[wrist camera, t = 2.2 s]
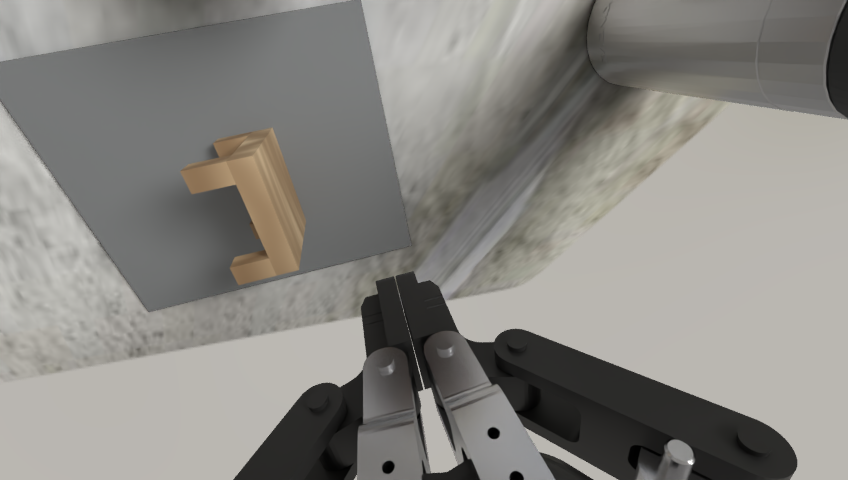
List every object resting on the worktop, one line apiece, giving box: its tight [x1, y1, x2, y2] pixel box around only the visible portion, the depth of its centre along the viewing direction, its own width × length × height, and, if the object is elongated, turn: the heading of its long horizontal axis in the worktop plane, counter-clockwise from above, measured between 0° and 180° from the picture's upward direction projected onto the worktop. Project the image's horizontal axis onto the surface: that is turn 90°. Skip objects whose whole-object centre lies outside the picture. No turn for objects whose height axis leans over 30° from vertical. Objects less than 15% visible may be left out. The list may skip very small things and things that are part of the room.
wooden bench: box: [180, 128, 306, 285], centre depth 26 cm, size 4×8×8 cm, turn 9°
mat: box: [0, 0, 412, 312], centre depth 29 cm, size 24×20×1 cm
